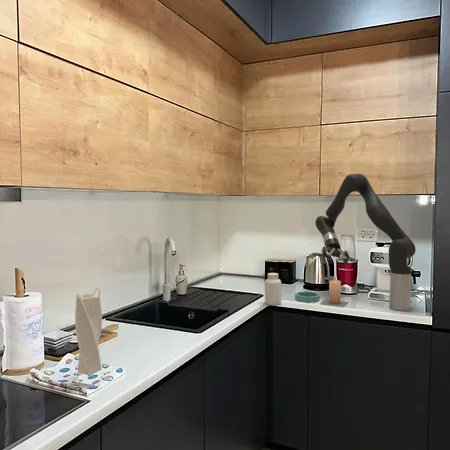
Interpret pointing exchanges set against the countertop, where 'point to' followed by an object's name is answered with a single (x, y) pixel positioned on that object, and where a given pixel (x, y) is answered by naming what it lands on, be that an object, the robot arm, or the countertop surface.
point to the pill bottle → (273, 289)
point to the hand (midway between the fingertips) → (338, 263)
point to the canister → (334, 291)
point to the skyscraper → (88, 331)
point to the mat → (342, 304)
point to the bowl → (307, 297)
